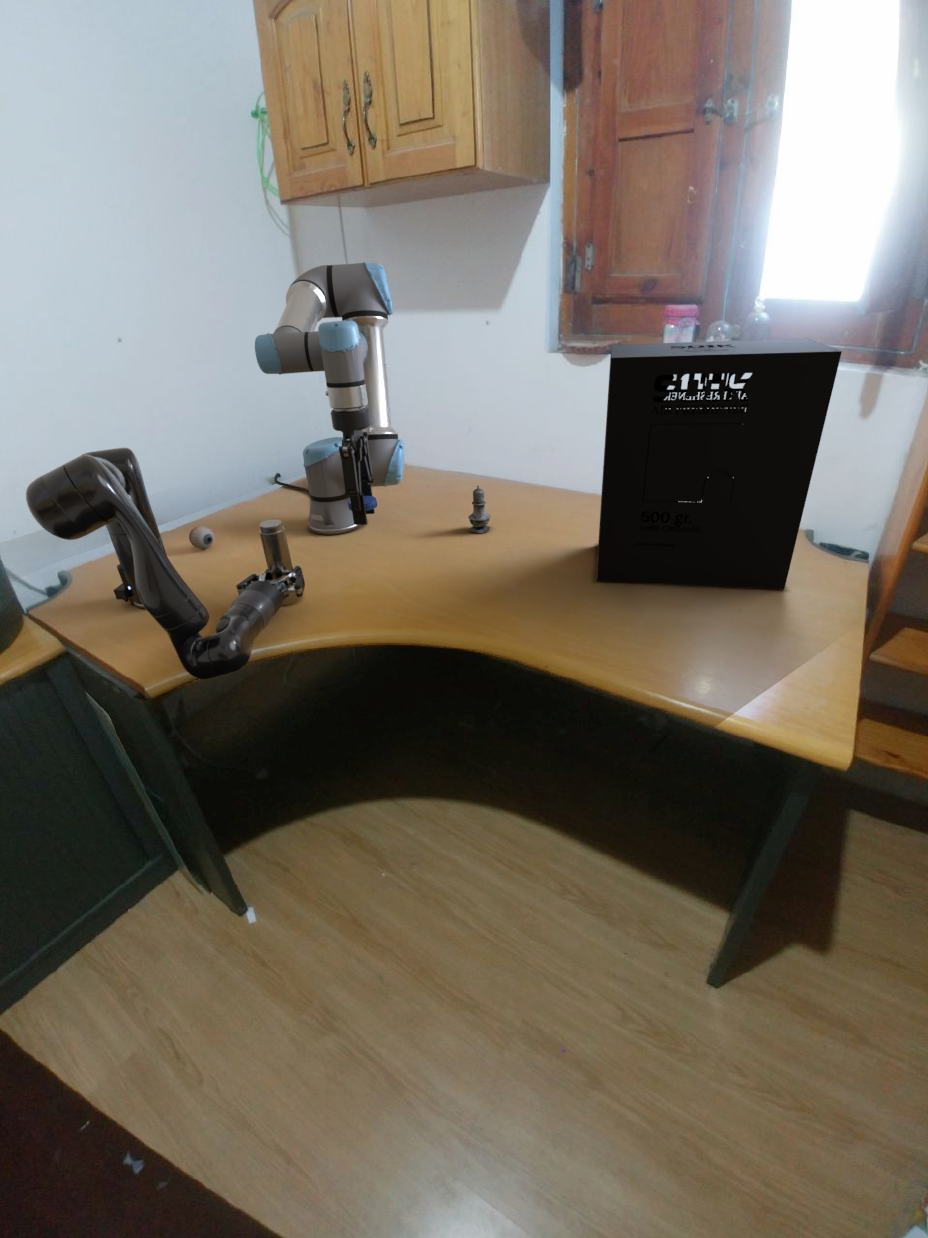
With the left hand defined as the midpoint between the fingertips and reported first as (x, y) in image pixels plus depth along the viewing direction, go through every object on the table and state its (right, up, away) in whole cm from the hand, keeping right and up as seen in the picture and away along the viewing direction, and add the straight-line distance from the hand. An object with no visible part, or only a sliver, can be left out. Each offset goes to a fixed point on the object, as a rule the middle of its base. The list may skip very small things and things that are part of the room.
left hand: (286, 569), depth 131 cm
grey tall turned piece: (+43, +13, +30) cm, 54 cm away
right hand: (+17, +11, 0) cm, 20 cm away
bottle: (0, -7, +1) cm, 7 cm away
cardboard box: (+88, +1, +5) cm, 88 cm away
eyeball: (-30, +8, +29) cm, 42 cm away
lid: (+17, +15, -2) cm, 22 cm away
